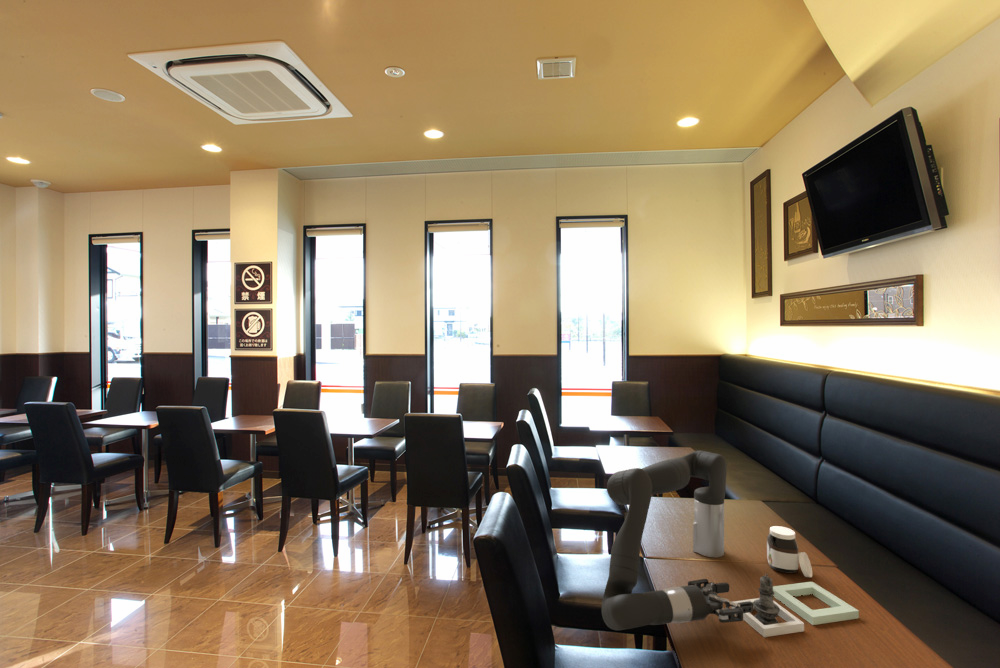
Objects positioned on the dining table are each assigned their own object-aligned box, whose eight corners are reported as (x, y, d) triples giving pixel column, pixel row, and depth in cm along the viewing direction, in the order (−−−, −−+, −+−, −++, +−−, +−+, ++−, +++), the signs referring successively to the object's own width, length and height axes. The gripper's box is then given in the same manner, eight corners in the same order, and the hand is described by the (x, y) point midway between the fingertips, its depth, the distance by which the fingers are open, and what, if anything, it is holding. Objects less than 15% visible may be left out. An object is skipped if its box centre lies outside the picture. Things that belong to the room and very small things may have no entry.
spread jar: (763, 558, 150) (764, 522, 150) (803, 563, 147) (803, 526, 146) (775, 577, 138) (775, 538, 138) (818, 582, 135) (818, 543, 135)
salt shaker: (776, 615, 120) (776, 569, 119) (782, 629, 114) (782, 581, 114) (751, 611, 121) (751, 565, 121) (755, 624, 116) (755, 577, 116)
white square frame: (763, 637, 111) (763, 629, 111) (731, 609, 122) (731, 601, 122) (804, 631, 113) (804, 623, 113) (768, 604, 124) (768, 596, 124)
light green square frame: (812, 625, 116) (812, 617, 116) (769, 593, 129) (769, 586, 129) (858, 618, 118) (858, 610, 118) (812, 588, 132) (812, 581, 132)
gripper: (699, 605, 106) (760, 597, 109) (666, 573, 120) (721, 567, 123) (699, 638, 106) (761, 628, 109) (666, 602, 120) (721, 595, 123)
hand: (739, 596), depth 116 cm, fingers open, 8 cm apart
